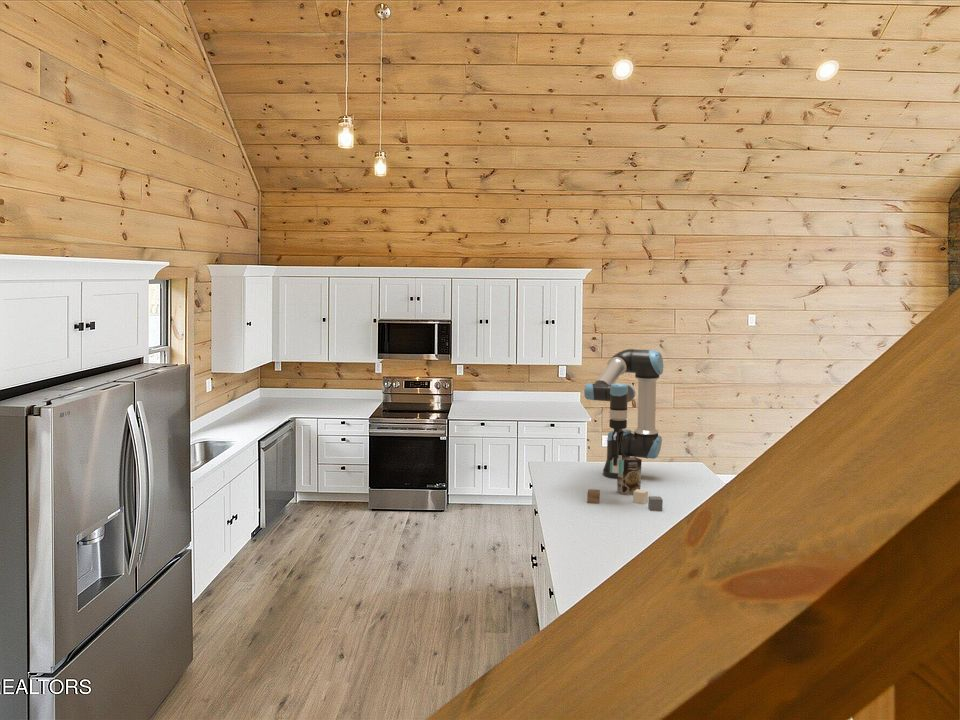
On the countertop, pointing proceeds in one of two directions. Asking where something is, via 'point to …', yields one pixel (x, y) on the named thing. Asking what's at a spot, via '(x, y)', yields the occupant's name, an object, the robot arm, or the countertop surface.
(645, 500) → the cream cube
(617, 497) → the countertop surface
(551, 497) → the countertop surface
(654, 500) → the charcoal cube
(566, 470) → the countertop surface
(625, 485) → the coffee box
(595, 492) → the walnut cube
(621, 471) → the teal cube
